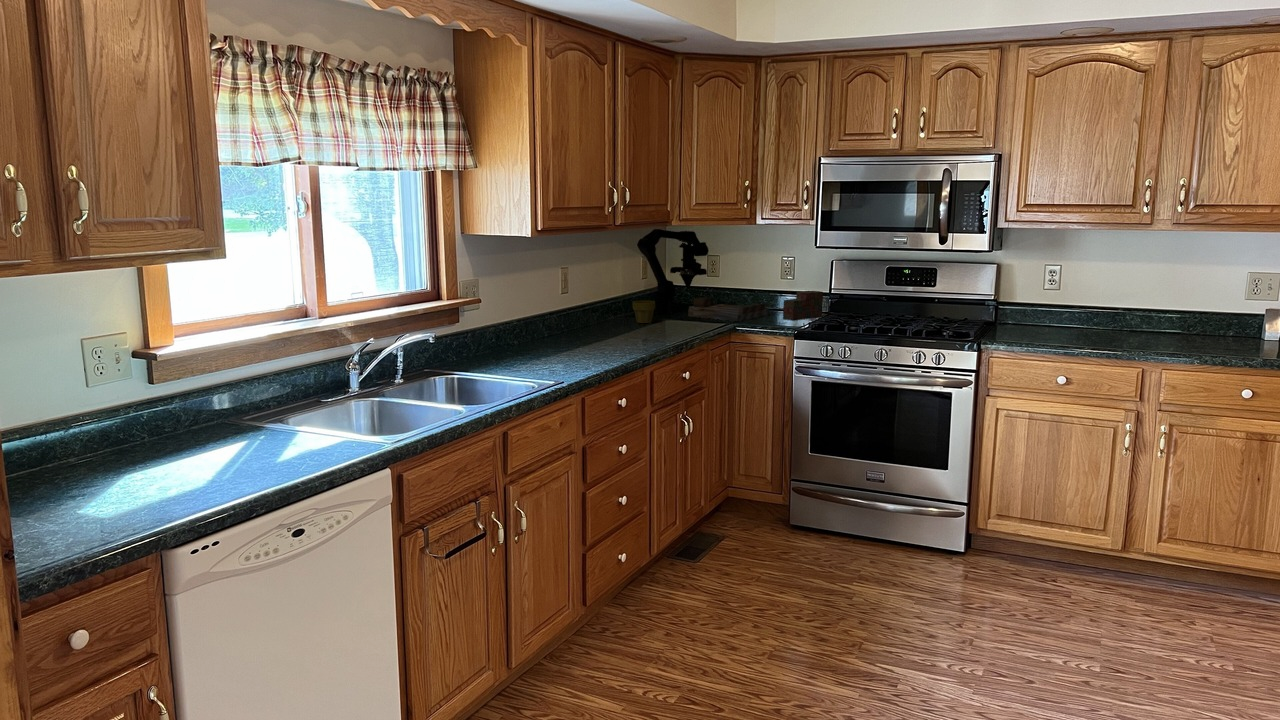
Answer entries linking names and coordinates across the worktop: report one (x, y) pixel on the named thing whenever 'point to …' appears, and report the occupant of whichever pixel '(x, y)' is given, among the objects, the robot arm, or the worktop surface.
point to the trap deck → (730, 312)
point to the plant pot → (644, 311)
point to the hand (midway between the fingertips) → (688, 288)
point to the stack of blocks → (803, 306)
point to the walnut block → (702, 302)
